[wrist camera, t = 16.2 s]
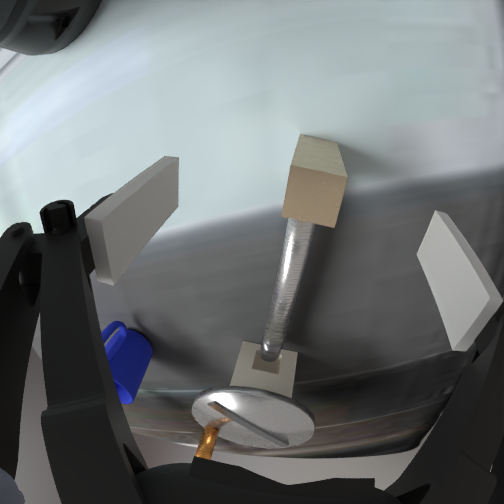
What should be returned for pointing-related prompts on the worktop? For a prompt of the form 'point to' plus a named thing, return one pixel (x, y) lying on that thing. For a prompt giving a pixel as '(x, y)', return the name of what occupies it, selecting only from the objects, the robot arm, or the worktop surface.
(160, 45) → the worktop surface
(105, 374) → the robot arm
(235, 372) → the eye block
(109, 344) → the mug
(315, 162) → the hook rod
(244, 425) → the handwheel
